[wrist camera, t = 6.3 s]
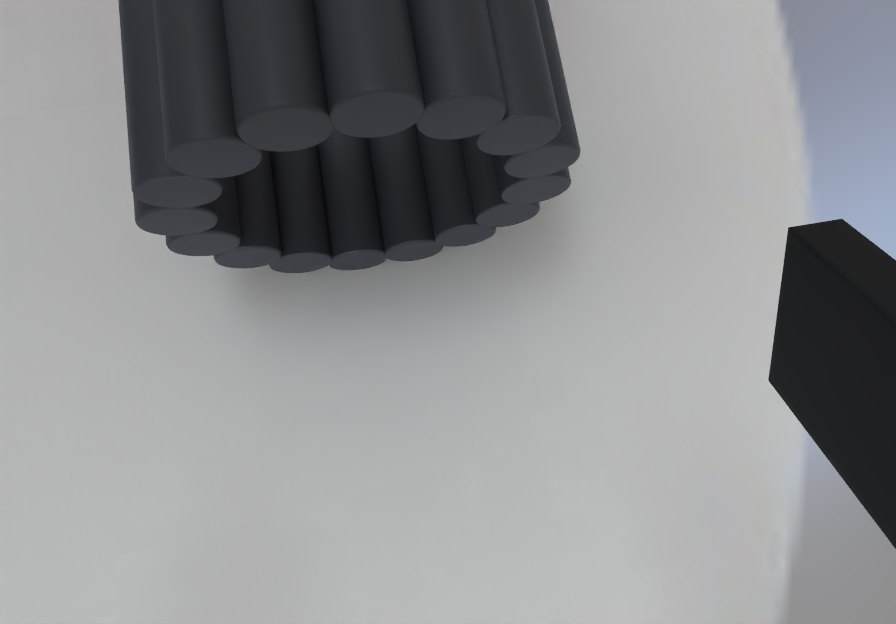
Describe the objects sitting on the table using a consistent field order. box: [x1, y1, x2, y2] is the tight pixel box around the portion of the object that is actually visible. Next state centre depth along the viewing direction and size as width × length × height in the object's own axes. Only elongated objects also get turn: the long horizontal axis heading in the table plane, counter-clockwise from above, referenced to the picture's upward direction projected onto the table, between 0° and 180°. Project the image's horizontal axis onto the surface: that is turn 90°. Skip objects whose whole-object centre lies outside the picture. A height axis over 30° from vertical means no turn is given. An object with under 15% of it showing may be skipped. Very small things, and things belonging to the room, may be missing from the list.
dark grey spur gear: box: [119, 0, 580, 273], centre depth 19 cm, size 11×5×11 cm, turn 99°
